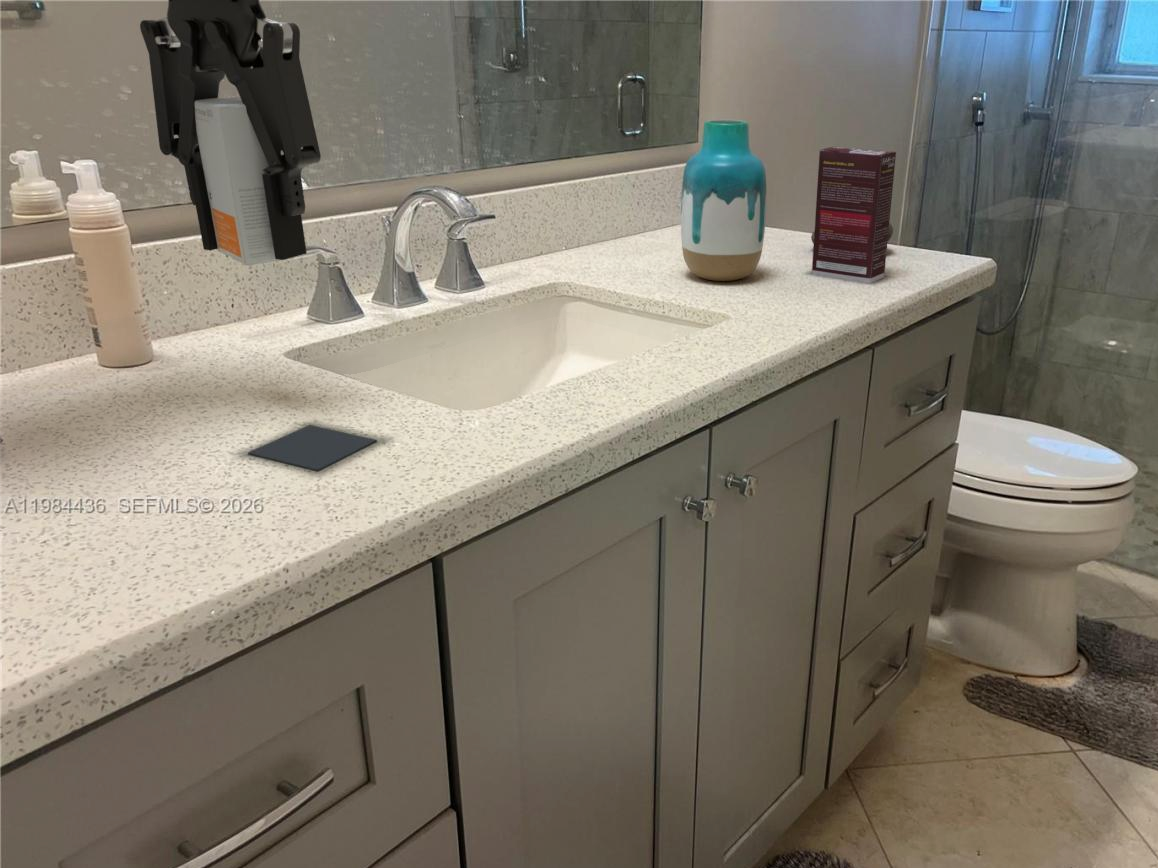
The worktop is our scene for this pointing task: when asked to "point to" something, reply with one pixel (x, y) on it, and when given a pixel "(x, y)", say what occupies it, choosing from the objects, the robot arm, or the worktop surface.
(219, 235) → the cosmetic box
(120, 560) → the worktop surface
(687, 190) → the vase
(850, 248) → the supplement box
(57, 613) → the worktop surface
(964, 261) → the worktop surface
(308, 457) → the mat
